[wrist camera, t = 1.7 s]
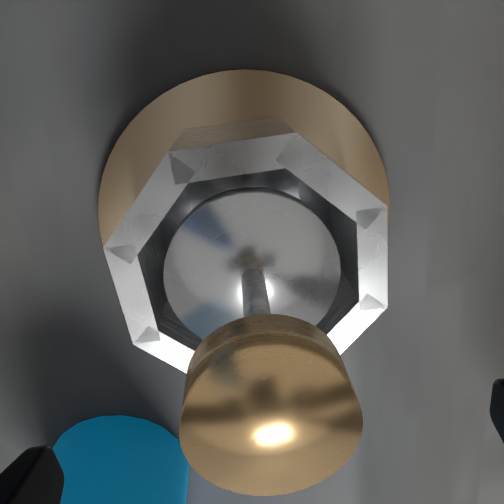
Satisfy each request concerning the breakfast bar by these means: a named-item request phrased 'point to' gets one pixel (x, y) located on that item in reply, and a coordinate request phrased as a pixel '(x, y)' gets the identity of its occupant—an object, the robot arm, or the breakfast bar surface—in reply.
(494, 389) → the robot arm
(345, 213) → the grey piece
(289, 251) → the plunger
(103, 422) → the mug
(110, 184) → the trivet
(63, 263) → the breakfast bar surface
